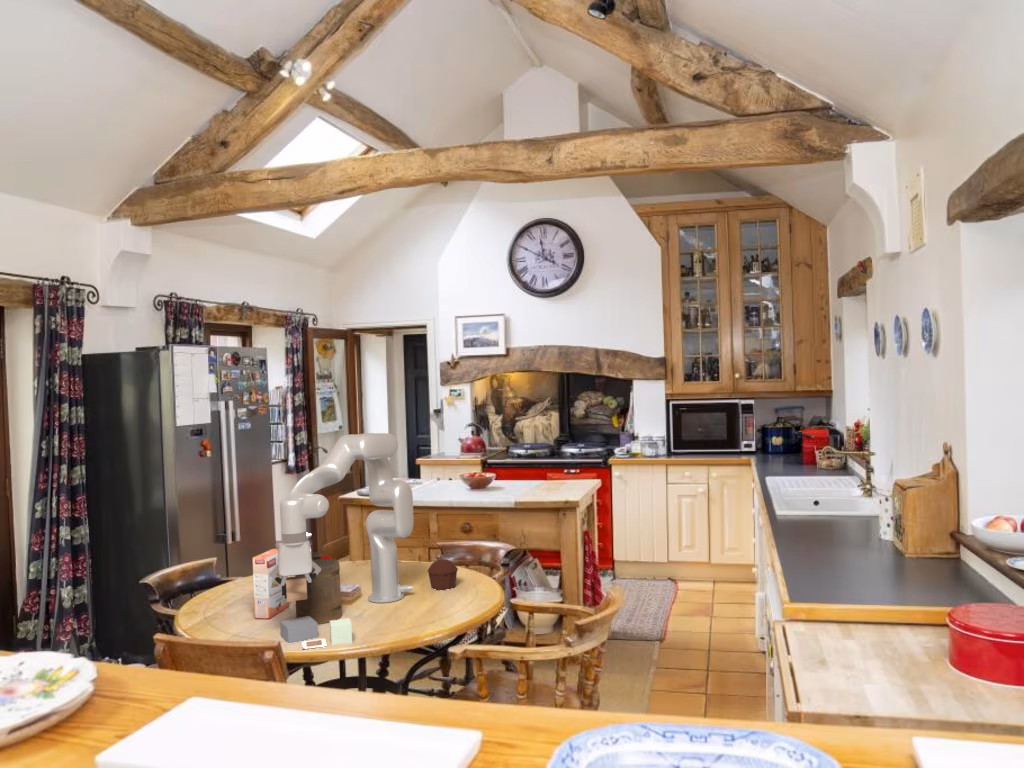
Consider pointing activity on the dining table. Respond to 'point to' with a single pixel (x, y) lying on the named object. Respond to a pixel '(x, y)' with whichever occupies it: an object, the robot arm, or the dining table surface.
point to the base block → (299, 629)
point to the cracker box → (267, 586)
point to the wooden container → (322, 592)
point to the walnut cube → (296, 588)
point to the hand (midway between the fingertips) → (296, 595)
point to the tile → (314, 643)
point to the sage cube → (341, 631)
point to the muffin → (442, 574)
